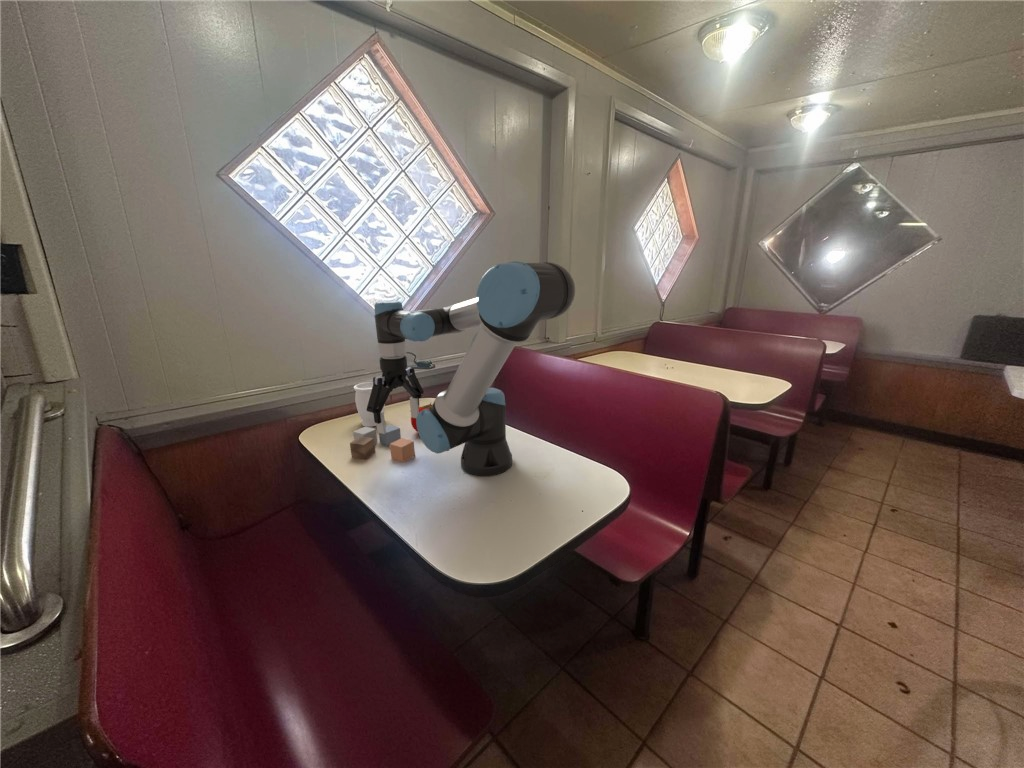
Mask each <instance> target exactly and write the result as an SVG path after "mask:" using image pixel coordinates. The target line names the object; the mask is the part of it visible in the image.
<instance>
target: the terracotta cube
mask: <svg viewBox="0 0 1024 768" xmlns="http://www.w3.org/2000/svg"><path fill="white" fill-rule="evenodd" d="M414 442H415V441H414V440H410V439H408V438H404V437H401V439H399V440H397V441H395V442H393V443H391V444H390V446H389V449H390V459H392V460H394V461H398V462H401V463H404V462H407V461H408V460H410V459H412V458H413V457H415V456H416V452H415V443H414Z"/></svg>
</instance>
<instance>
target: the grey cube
mask: <svg viewBox="0 0 1024 768" xmlns="http://www.w3.org/2000/svg"><path fill="white" fill-rule="evenodd" d="M352 433H353V439H354V440H355V439H357V438H359V437H368V438H374V445H375V444H378V437H377V428H373V427H366V426H363V427H360V428H358V429H356V430H353V432H352ZM354 440H353V441H354Z"/></svg>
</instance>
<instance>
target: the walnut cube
mask: <svg viewBox="0 0 1024 768" xmlns="http://www.w3.org/2000/svg"><path fill="white" fill-rule="evenodd" d="M349 447H350V453H351V454H350V455H351V458H352V459H357V460H358V459H359V460H365V461H366V460H367V459H368V458H370V457H371V456H373V455H375V454H376V446H375V444H374V438H368V437H359V438H357V439H355V440H352V441H351V442H349Z"/></svg>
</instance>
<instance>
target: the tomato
mask: <svg viewBox="0 0 1024 768" xmlns="http://www.w3.org/2000/svg"><path fill="white" fill-rule="evenodd" d="M432 405H433V404H432V402H430V403H429V404H427V405H423V406H419V407H418V408H419V412H421V411H423V410H424V409H429V408H430V407H432ZM416 419H417V418H413V417H411V416H410V423H411V426H412V428H413V429H414V431H415V432H417V433H418V430H417V425H416Z"/></svg>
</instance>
